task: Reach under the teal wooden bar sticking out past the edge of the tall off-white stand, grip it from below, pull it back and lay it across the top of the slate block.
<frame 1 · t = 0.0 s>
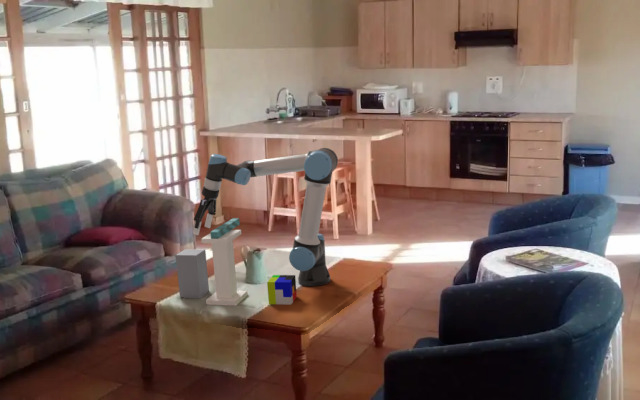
hand: (201, 230, 321), 28 cm above the table, tool tilted 20°, fingers open, 13 cm apart
off-white stand: (227, 299, 309), on the table
slate block: (194, 294, 319), on the table
teal bar: (225, 231, 308), point 30 cm above the table, touching off-white stand
puzzle toy: (282, 300, 304), on the table
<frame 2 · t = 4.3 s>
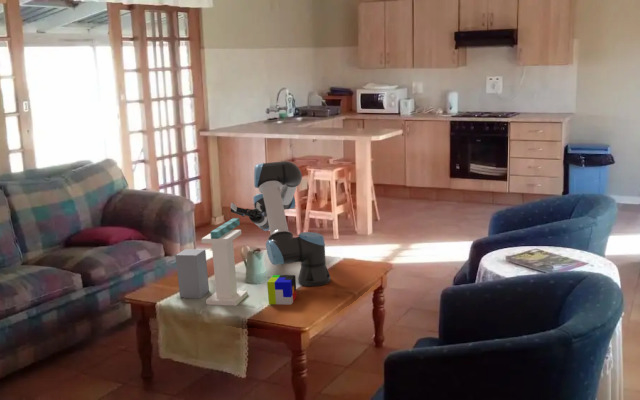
hand: (244, 204, 345), 34 cm above the table, tool pointing upward, fingers open, 13 cm apart
nothing on the table moved.
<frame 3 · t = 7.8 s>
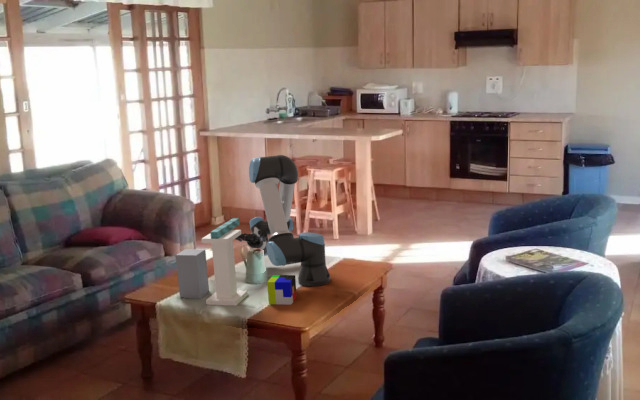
hand: (241, 229, 326), 26 cm above the table, tool pointing upward, fingers open, 13 cm apart
nothing on the table moved.
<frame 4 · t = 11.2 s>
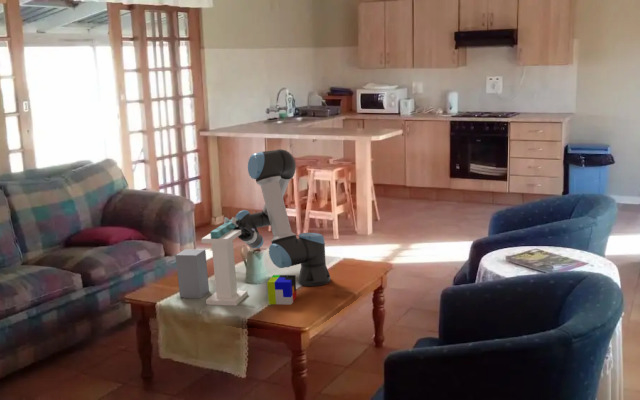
hand: (228, 219, 311), 34 cm above the table, tool pointing upward, fingers closed on teal bar, 3 cm apart
teal bar: (225, 231, 308), point 30 cm above the table, touching gripper, off-white stand
everything else where it was.
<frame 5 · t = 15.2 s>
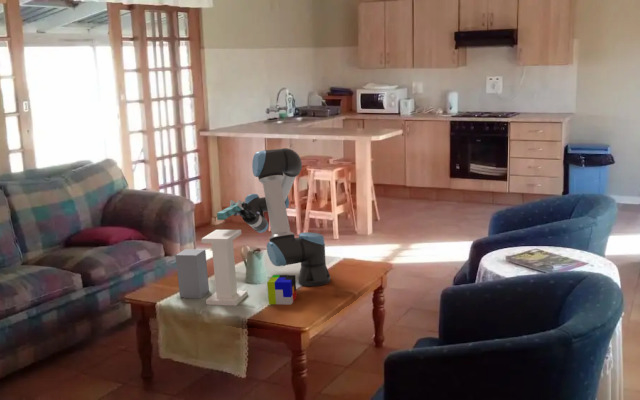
hand: (234, 202, 322), 40 cm above the table, tool pointing upward, fingers closed on teal bar, 3 cm apart
teal bar: (231, 213, 319), point 35 cm above the table, touching gripper
everything else where it was.
when the fingers open (26 cm above the table, at t = 19.1 s): teal bar drops 2 cm, resting on slate block.
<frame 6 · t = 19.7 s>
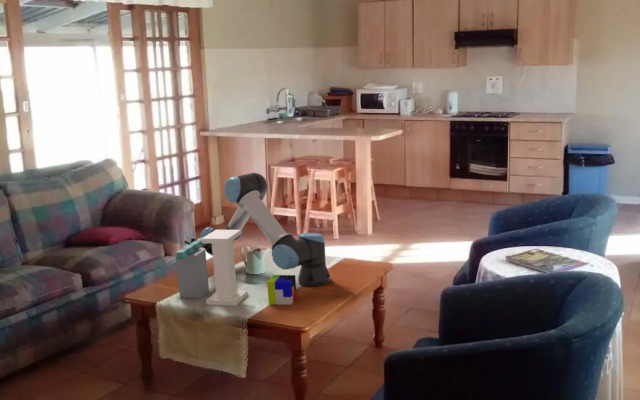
hand: (196, 236, 321), 25 cm above the table, tool pointing upward, fingers open, 11 cm apart
teal bar: (192, 250, 317), point 20 cm above the table, touching slate block
everything else where it was.
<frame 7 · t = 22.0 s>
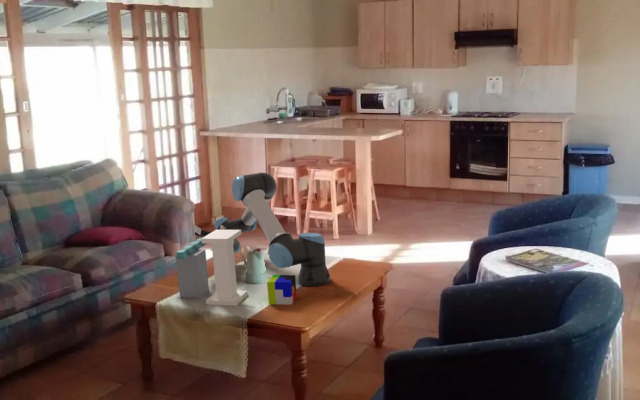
hand: (207, 227, 334), 26 cm above the table, tool pointing upward, fingers open, 13 cm apart
nothing on the table moved.
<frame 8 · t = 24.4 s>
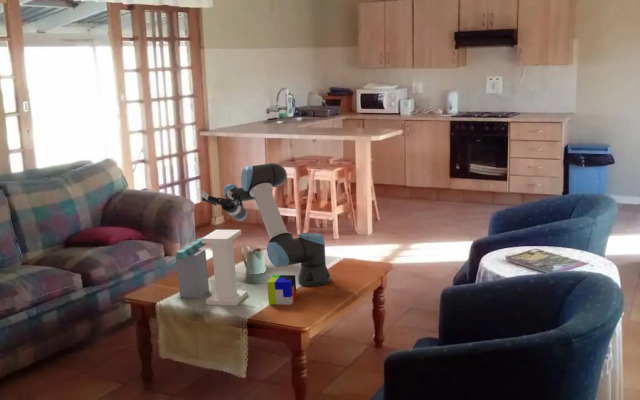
hand: (215, 192, 339), 42 cm above the table, tool pointing upward, fingers open, 13 cm apart
nothing on the table moved.
at the end: teal bar inside the target area on the slate block (2.1 cm from its centre), point 20.0 cm above the slate block's base; teal bar touching slate block; teal bar tilted 0° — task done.
